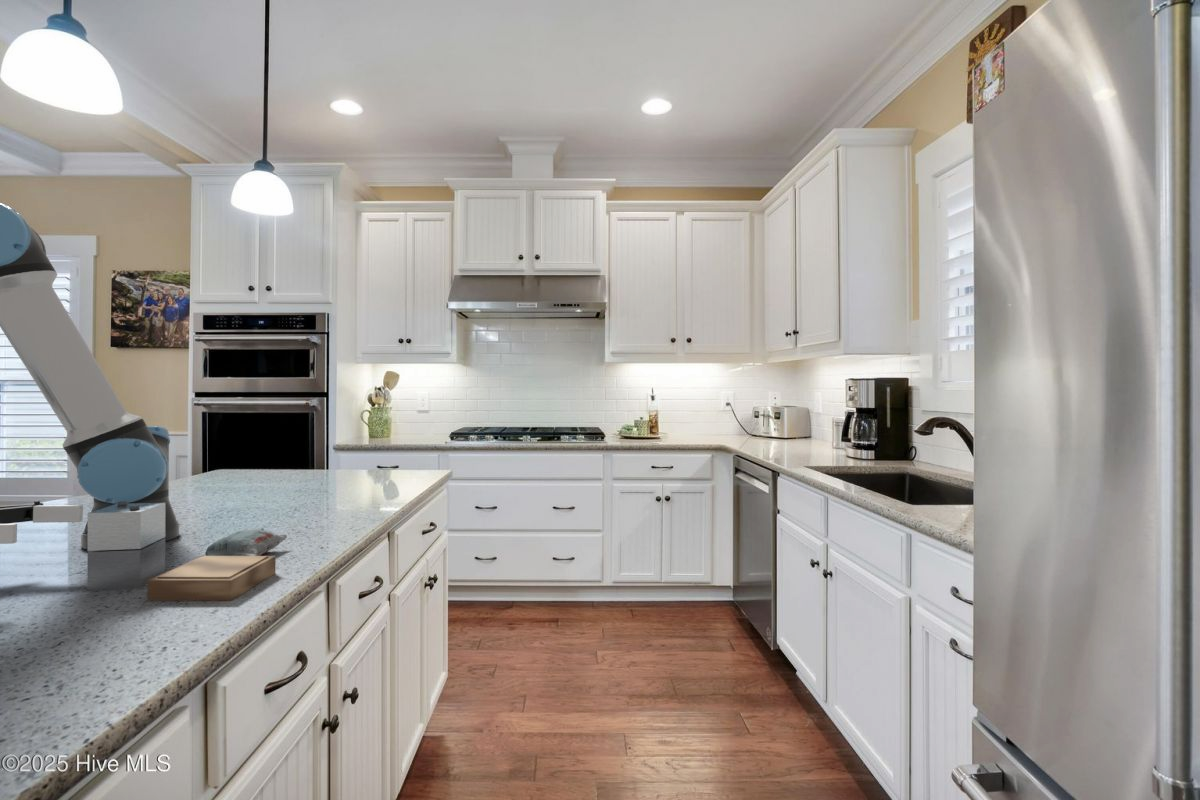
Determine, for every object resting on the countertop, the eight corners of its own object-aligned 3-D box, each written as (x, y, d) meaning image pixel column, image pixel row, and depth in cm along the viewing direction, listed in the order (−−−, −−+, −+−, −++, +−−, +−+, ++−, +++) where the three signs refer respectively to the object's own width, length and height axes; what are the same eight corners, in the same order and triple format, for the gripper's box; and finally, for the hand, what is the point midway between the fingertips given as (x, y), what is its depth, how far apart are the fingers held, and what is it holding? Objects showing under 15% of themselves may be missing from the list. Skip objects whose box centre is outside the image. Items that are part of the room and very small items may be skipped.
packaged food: (286, 549, 108) (286, 524, 108) (253, 568, 96) (253, 540, 96) (240, 550, 107) (240, 525, 107) (201, 570, 95) (200, 541, 95)
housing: (116, 575, 91) (116, 500, 91) (165, 573, 93) (165, 499, 92) (87, 591, 84) (87, 509, 84) (140, 588, 86) (140, 507, 86)
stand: (202, 573, 93) (202, 554, 93) (275, 573, 93) (275, 554, 93) (147, 600, 81) (147, 578, 81) (231, 600, 81) (231, 578, 81)
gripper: (-44, 529, 93) (102, 527, 98) (-228, 577, 69) (-21, 571, 74) (-43, 485, 93) (104, 485, 98) (-226, 518, 69) (-19, 516, 74)
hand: (51, 522), depth 86 cm, fingers open, 13 cm apart
